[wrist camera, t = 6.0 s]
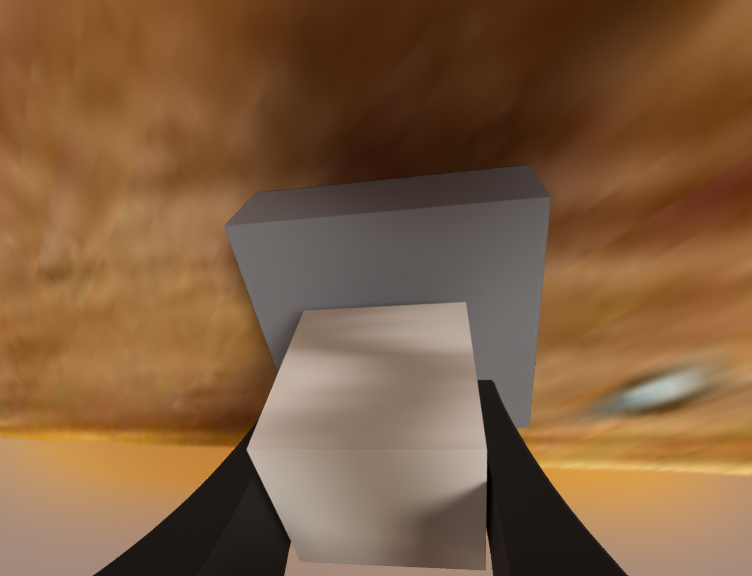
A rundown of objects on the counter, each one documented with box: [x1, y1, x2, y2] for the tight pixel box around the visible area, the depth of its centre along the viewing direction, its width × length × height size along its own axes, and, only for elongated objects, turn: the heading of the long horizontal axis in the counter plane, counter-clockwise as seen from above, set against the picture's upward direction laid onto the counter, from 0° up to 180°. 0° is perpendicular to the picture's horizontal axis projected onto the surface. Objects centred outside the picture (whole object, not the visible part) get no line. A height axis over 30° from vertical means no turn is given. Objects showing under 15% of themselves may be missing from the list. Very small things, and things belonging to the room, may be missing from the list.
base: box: [224, 165, 551, 427], centre depth 16 cm, size 10×10×3 cm
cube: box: [247, 302, 487, 570], centre depth 12 cm, size 5×5×5 cm
